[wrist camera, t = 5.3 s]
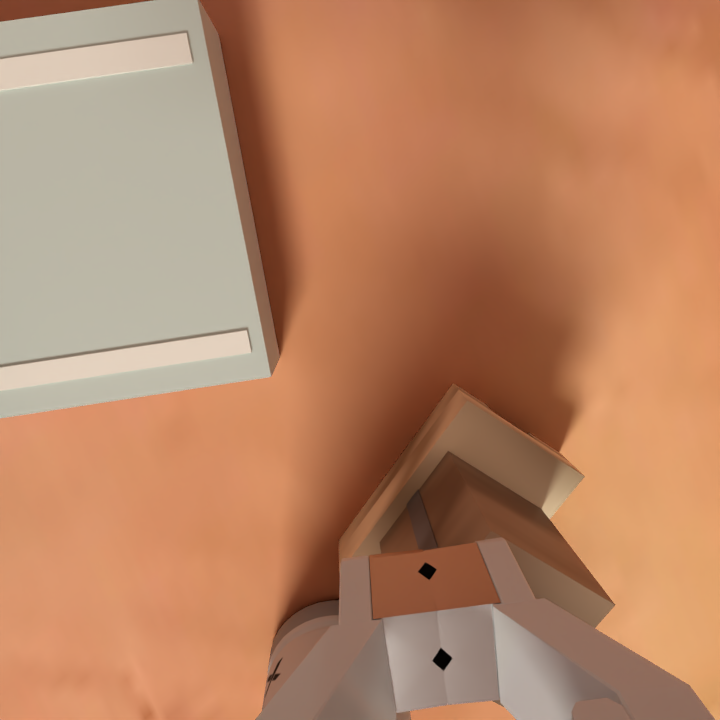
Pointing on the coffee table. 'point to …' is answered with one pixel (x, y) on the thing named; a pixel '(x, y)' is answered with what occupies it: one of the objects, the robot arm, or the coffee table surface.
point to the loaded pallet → (481, 451)
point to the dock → (123, 212)
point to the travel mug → (301, 645)
